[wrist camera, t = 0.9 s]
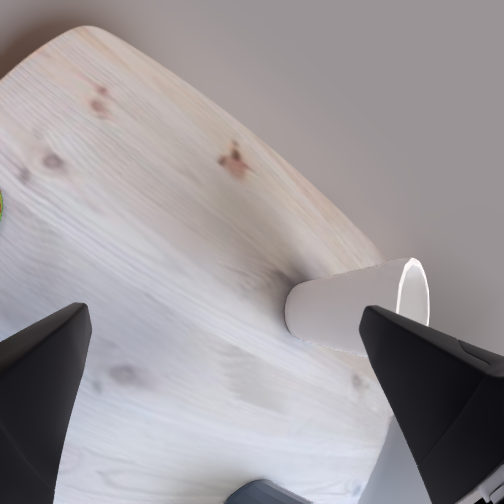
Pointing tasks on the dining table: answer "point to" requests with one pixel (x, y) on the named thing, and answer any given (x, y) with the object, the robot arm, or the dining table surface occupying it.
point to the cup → (265, 494)
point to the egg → (1, 205)
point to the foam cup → (355, 302)
